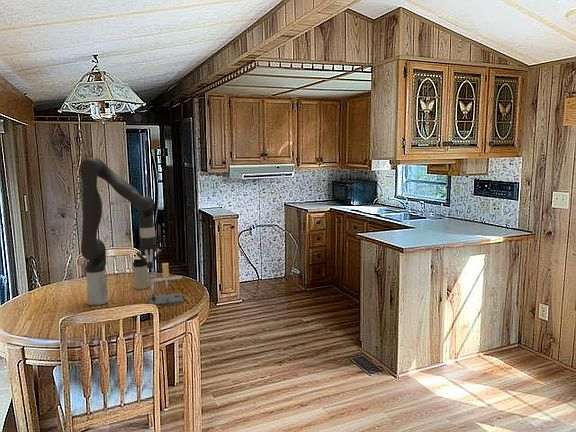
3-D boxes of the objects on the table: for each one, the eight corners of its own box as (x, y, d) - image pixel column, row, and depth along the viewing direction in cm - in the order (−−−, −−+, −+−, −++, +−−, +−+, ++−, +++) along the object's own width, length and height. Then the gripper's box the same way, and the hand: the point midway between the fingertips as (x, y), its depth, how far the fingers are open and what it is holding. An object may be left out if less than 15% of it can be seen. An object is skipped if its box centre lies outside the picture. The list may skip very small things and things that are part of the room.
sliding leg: (164, 298, 231) (162, 265, 228) (164, 296, 235) (162, 263, 232) (170, 297, 232) (168, 264, 229) (170, 295, 236) (168, 262, 233)
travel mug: (141, 290, 253) (138, 259, 250) (131, 288, 257) (129, 257, 255) (152, 286, 260) (149, 256, 257) (142, 284, 264) (140, 254, 261)
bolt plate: (148, 307, 224) (146, 279, 222) (149, 298, 238) (147, 272, 236) (183, 303, 229) (182, 276, 227) (182, 295, 242) (181, 269, 240)
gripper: (133, 238, 221) (136, 272, 224) (161, 236, 225) (163, 269, 227) (134, 235, 228) (137, 268, 231) (161, 233, 232) (163, 265, 234)
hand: (150, 268), depth 229 cm, fingers closed
